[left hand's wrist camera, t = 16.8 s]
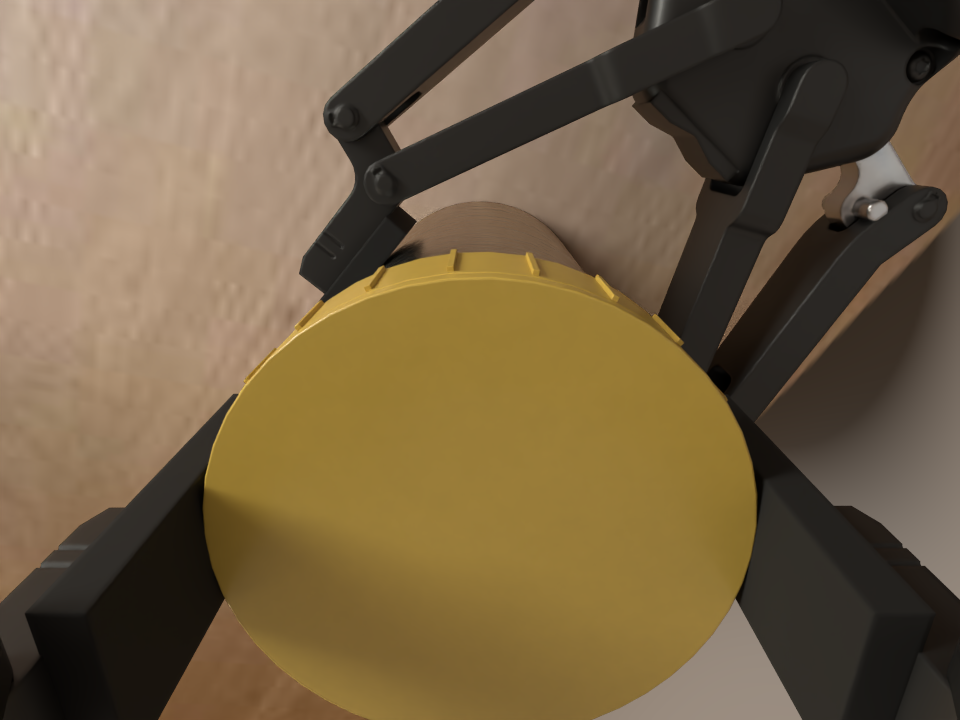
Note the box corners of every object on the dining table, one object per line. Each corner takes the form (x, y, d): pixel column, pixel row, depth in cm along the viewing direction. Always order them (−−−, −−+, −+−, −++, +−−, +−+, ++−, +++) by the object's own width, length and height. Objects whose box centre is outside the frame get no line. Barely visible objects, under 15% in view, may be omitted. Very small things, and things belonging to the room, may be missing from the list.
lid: (185, 273, 11) (121, 303, 9) (731, 221, 10) (788, 240, 8) (296, 671, 14) (267, 756, 12) (707, 643, 14) (743, 724, 12)
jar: (621, 292, 25) (802, 494, 11) (490, 428, 27) (501, 739, 13) (467, 155, 23) (448, 186, 9) (340, 314, 25) (167, 536, 11)
